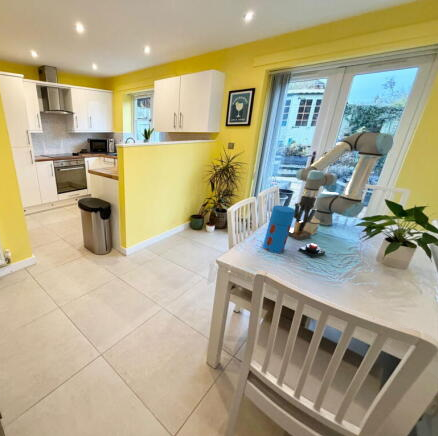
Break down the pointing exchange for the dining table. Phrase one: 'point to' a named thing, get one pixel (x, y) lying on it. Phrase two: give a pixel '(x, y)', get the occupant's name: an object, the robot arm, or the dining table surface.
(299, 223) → the tan square slab
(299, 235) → the brown flat piece
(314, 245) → the button
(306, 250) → the button box
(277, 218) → the thermos
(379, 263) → the dining table surface
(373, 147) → the robot arm
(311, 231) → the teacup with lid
